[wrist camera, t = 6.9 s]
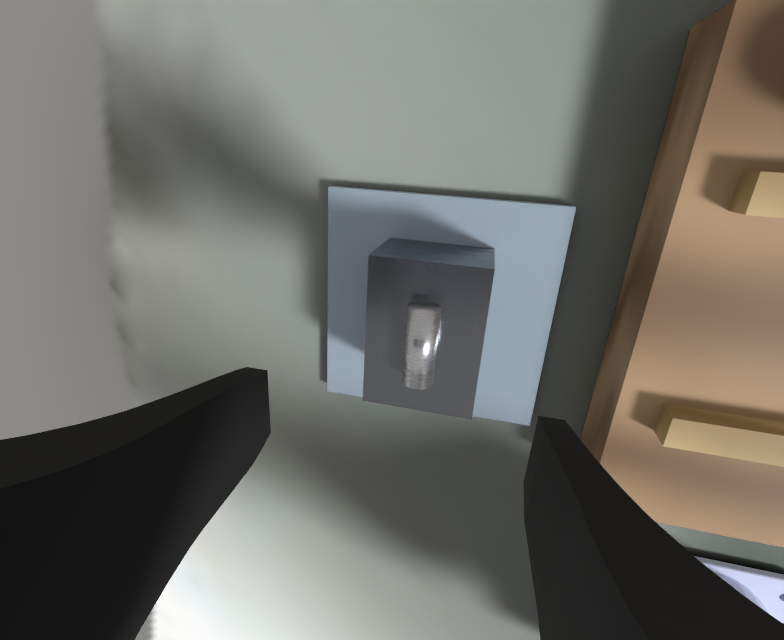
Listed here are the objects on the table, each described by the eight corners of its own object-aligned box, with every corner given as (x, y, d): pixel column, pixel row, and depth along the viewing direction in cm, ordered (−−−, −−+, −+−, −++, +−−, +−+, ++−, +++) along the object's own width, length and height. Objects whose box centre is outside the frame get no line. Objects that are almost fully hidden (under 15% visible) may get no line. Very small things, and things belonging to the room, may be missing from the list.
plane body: (759, 495, 20) (847, 610, 15) (574, 462, 21) (599, 555, 16) (983, 30, 13) (1281, -43, 8) (691, 27, 14) (792, -38, 10)
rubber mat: (528, 418, 21) (529, 425, 20) (331, 385, 23) (327, 391, 22) (573, 205, 17) (576, 207, 17) (332, 185, 19) (328, 186, 18)
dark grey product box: (475, 376, 20) (470, 434, 16) (382, 362, 21) (355, 413, 17) (494, 248, 18) (495, 276, 14) (390, 237, 19) (360, 261, 14)
